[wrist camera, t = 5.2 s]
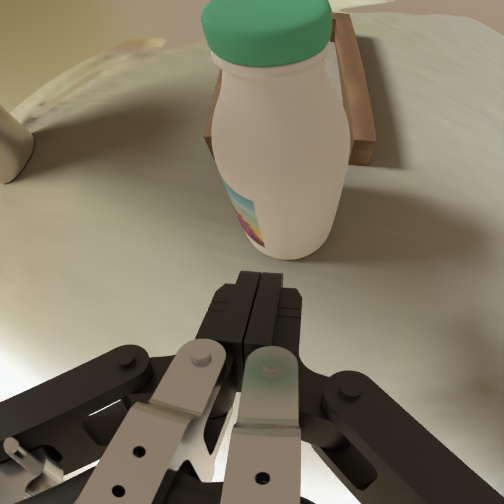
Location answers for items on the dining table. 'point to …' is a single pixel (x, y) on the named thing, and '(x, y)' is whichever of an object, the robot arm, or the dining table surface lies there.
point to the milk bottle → (278, 121)
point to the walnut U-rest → (352, 93)
